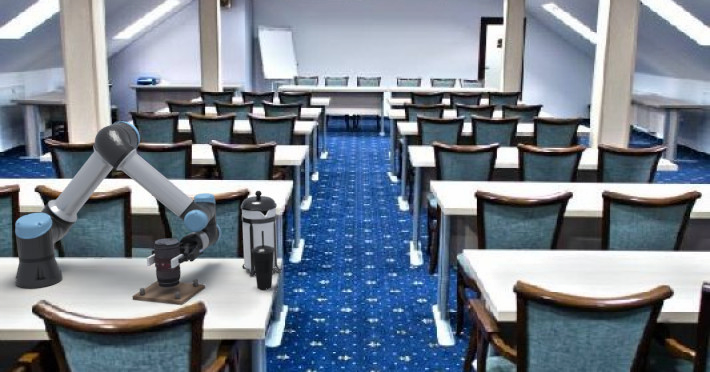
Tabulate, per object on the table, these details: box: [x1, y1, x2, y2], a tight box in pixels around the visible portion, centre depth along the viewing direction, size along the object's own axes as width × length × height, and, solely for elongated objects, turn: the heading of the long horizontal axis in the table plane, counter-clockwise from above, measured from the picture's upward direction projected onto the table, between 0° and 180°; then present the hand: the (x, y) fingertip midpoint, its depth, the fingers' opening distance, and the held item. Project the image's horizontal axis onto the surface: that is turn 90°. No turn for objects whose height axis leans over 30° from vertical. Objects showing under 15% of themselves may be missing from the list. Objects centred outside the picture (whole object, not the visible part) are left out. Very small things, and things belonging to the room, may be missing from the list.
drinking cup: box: [252, 231, 275, 291], centre depth 246 cm, size 8×8×20 cm
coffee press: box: [240, 190, 281, 277], centre depth 264 cm, size 17×16×30 cm
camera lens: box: [153, 238, 181, 288], centre depth 241 cm, size 8×8×15 cm
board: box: [132, 279, 206, 305], centre depth 243 cm, size 18×16×3 cm
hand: (160, 262), depth 236 cm, fingers closed on camera lens, 8 cm apart
